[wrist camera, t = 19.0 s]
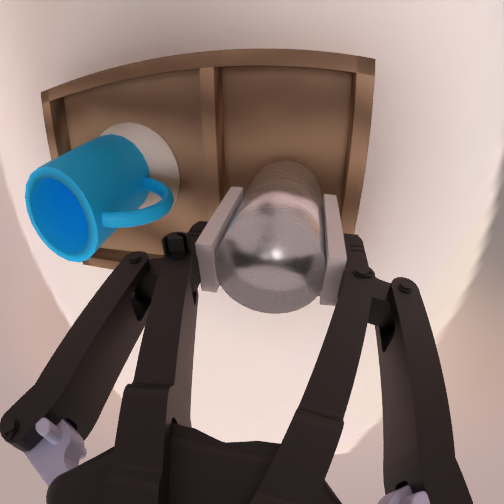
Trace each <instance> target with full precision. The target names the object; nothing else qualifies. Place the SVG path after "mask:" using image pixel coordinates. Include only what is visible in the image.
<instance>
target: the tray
mask: <svg viewBox="0 0 504 504" xmlns="http://www.w3.org/2000/svg"><path fill="white" fill-rule="evenodd" d="M374 77H375V59H372V58H367V57H361V56H354V55H348V54H340V53H332V52H322V51H311V50H295V49H234V50H218V51H207V52H197V53H189V54H181V55H174V56H168V57H162V58H156V59H151V60H146V61H141V62H136V63H132V64H128V65H123V66H119V67H115V68H112V69H108V70H104V71H101V72H97V73H94V74H91V75H88V76H84V77H81V78H78V79H75V80H72V81H70V82H67V83H64V84H61V85H59V86H56V87H53V88H51V89H48V90H46V91H43V92H41V98H42V107H43V114H44V121H45V127H46V133H47V139H48V144H49V149H50V154H51V159H52V160H53V159H55V158H57V157H59V156H61V155H63V154H65V153H67V152H68V151H70V150H72V149H74V148H76V147H78V146H80V145H82V144H85V143H87V142H89V141H91V140H93V139H95V138H97V137H100V136H102V135H108V134H114V135H119V136H123V137H125V138H126V139H128V140H129V141H131V142H132V143H134V144H135V146H136V147H137V148H138V149H139V150H140V152H141V153H142V154H143V156H144V158H145V160H146V163H147V165H148V167H149V173H150V178H152V179H155V180H158V181H160V182H162V183H164V184H165V185H166V186H168V187H169V188H170V189H171V191H172V194H173V197H174V204H173V206H172V208H171V210H170V212H169V213H168V214H166V215H165V216H164V217H162V218H161V219H159V220H156V221H154V222H151V223H148V224H146V225H140V226H135V227H127V228H118V229H117V230H116V231H115V232H114V233H113V234H112V235H111V236H110V237H109V238H108V239H107V240H106V241H105V242H104V243H103V244H102V245H101V246H100V247H99V248H98V250H97V251H96V252H95V253H94V254H93V255H92V256H91V257H90V258H89V259H88V260H85V261H82V262H83V264H85V265H90V266H96V267H102V268H108V269H115V268H116V267H117V265H118V264H119V263H120V262H121V261H122V259H123V258H124V257H125V256H126V255H127V254H129V253H131V252H135V251H143V252H146V253H147V254H148V257H149V259H155V258H163V257H164V251H163V247H162V242H161V239H162V238H163V237H164V236H165V235H167V234H169V233H172V232H185V233H188V231H189V230H190V228H191V227H192V225H194V224H195V223H197V222H198V221H207V222H209V220H210V219H211V217H212V215H213V214H214V212H215V211H216V209H217V208H218V206H219V205H220V203H221V201H222V200H223V198H224V197H225V195H226V194H227V192H228V191H229V189H230V188H231V187H243V198H244V196H245V194H246V192H247V190H248V189H249V187H250V185H251V183H252V181H253V179H254V177H255V175H256V174H257V173H258V172H259V171H260V170H261V169H262V168H263V167H264V166H266V165H268V164H270V163H273V162H276V161H293V162H296V163H299V164H301V165H303V166H305V167H306V168H308V169H309V170H310V171H311V172H312V173H313V174H314V175H315V177H316V178H317V180H318V182H319V185H320V189H321V199H322V206H323V197H324V194H330V195H336V197H337V202H338V208H339V213H340V219H341V224H342V230H343V233H346V234H354V230H355V225H356V220H357V215H358V210H359V204H360V198H361V192H362V186H363V180H364V174H365V167H366V160H367V152H368V144H369V136H370V127H371V117H372V106H373V93H374ZM160 200H162V198H161V197H160V196H159V195H157V194H155V193H153V192H150V191H149V194H148V196H147V198H146V200H145V202H144V203H143V204H142V205H141V206H140V207H139V208H138V209H143V208H145V207H148V206H151V205H154V204H156V203H157V202H159V201H160ZM318 296H320V293H319V295H318Z"/></svg>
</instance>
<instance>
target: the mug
mask: <svg viewBox="0 0 504 504" xmlns="http://www.w3.org/2000/svg"><path fill="white" fill-rule="evenodd" d="M149 191H150V192H153V193H155V194H157V195H159V196H160V197H161V198H162V200H160V201H159V202H157V203H156V204H154V205H151V206H148V207H145V208H143V209H138V208H139V207H140V206H141V205H142V204H143V203H144V202H145V200H146V198H147V196H148V194H149ZM25 199H26V206H27V211H28V214H29V217H30V220H31V223H32V225H33V227H34V228H35V230H36V232H37V234H38V235H39V237H40V238H41V239H42V240H43V242H44V243H45V244H46V245H47V246H48V247H49V248H50V249H51V250H52V251H53V252H55V253H56V254H57V255H59V256H61V257H63V258H65V259H67V260H69V261H74V262H82V261H85V260H88V259H89V258H90V257H91V256H92V255H93V254H94V253H95V252H96V251H97V250H98V248H99V247H100V246H101V245H102V244H103V243H104V242H105V241H106V240H107V239H108V238H109V237H110V236H111V235H112V234H113V233H114V232H115V231H116V230H117V229H118V228H127V227H135V226H140V225H146V224H148V223H151V222H154V221H156V220H159V219H161V218H162V217H164V216H165V215H166V214H168V213H169V212H170V210H171V208H172V206H173V204H174V197H173V194H172V191H171V189H170V188H169V187H168V186H166V185H165V184H164V183H162V182H160V181H158V180H155V179H152V178H150V173H149V167H148V165H147V163H146V160H145V158H144V156H143V154H142V153H141V152H140V150H139V149H138V148H137V147H136V146H135V144H134V143H132V142H131V141H129V140H128V139H126V138H125V137H123V136H119V135H114V134H108V135H102V136H100V137H97V138H95V139H93V140H91V141H89V142H87V143H85V144H82V145H80V146H78V147H76V148H74V149H72V150H70V151H68V152H67V153H65V154H63V155H61V156H59V157H57V158H55V159H53V160H52V161H50V162H48V163H46V164H44V165H43V166H41V167H39V168H38V169H37V170H35V171H34V172H33V173H32V174H31V175H30V177H29V180H28V182H27V184H26V193H25Z"/></svg>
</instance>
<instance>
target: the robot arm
mask: <svg viewBox="0 0 504 504" xmlns="http://www.w3.org/2000/svg"><path fill="white" fill-rule="evenodd" d="M242 200H243V187H231V188H230V189H229V191H228V192H227V194H226V195H225V197H224V198H223V200H222V201H221V203H220V205H219V206H218V208H217V209H216V211H215V212H214V214H213V215H212V217H211V219H210V220H209V222H207V221H198V222H197V223H195V224H194V225H192V227H191V228H190V230H189V231H188V233H185V232H172V233H169V234H167V235H165V236H164V237H163V238H162V239H161V242H162V247H163V251H164V257H163V258H155V259H149V257H148V254H147V253H146V252H143V251H135V252H131V253H129V254H127V255H126V256H125V257H124V258H123V259H122V261H121V262H120V263H119V264H118V265H117V267H116V268H115V269H114V270H113V272H112V273H111V274H110V276H109V277H108V278H107V279H106V281H105V282H104V283H103V285H102V286H101V287H100V289H99V290H98V291H97V292H96V294H95V295H94V297H93V298H92V299H91V301H90V302H89V303H88V305H87V306H86V307H85V309H84V310H83V312H82V313H81V314H80V316H79V317H78V319H77V320H76V321H75V323H74V324H73V326H72V327H71V329H70V330H69V331H68V333H67V335H66V336H65V338H64V339H63V341H62V342H61V344H60V345H59V346H58V348H57V349H56V351H55V353H54V354H53V356H52V357H51V359H50V360H49V362H48V364H47V365H46V367H45V368H44V370H43V372H42V373H41V375H40V377H39V378H38V380H37V382H36V383H35V385H34V386H33V387H32V388H31V389H29V390H28V391H27V392H26V394H25V395H23V396H22V397H21V398H20V399H19V400H18V401H17V402H16V403H15V404H14V405H13V406H12V407H11V408H10V409H9V410H8V411H7V412H6V413H5V414H4V415H3V417H2V418H1V422H0V432H1V435H2V437H3V438H4V439H5V441H7V442H8V443H10V444H11V445H13V446H14V447H16V448H17V449H19V450H21V451H22V452H24V453H25V455H26V456H27V458H28V459H29V460H30V462H31V463H32V465H33V466H34V467H35V469H36V470H37V472H38V473H39V474H40V476H41V477H42V478H43V480H44V481H45V482H46V483H47V485H48V486H49V488H48V491H47V496H46V502H47V504H342V503H341V502H340V500H339V499H338V498H337V496H336V495H335V493H334V492H333V491H332V490H331V488H330V486H329V485H328V484H327V482H326V481H325V477H326V474H327V472H328V469H329V467H330V464H331V461H332V458H333V456H334V453H335V450H336V448H337V445H338V442H339V439H340V436H341V433H342V430H343V425H344V421H343V418H344V414H345V411H346V408H347V404H348V401H349V398H350V394H351V390H352V387H353V383H354V379H355V376H356V372H357V368H358V364H359V359H360V355H361V351H362V346H363V342H364V337H365V332H366V327H367V323H370V324H373V325H375V330H376V338H377V346H378V355H379V365H380V376H381V389H382V406H383V436H384V459H383V461H384V462H383V476H384V487H385V494H386V495H385V496H384V497H383V498H382V499H381V500H380V501H379V502H378V504H473V502H472V499H471V496H470V494H469V491H468V488H467V485H466V483H465V480H464V478H463V475H462V473H461V470H460V468H459V465H458V463H457V461H456V458H455V450H454V440H453V432H452V424H451V417H450V410H449V404H448V399H447V393H446V388H445V383H444V378H443V373H442V369H441V364H440V360H439V356H438V352H437V348H436V344H435V341H434V337H433V333H432V330H431V326H430V323H429V320H428V316H427V313H426V310H425V307H424V304H423V301H422V298H421V295H420V292H419V289H418V287H417V285H416V284H415V283H414V282H413V281H411V280H409V279H407V278H403V277H397V278H395V279H393V281H392V283H388V282H385V281H382V280H379V279H378V278H376V277H375V273H374V271H373V270H372V269H371V268H369V266H368V262H367V258H366V253H365V249H364V245H363V241H362V240H361V238H360V237H359V236H358V235H355V234H346V233H343V230H342V224H341V219H340V213H339V208H338V202H337V197H336V195H330V194H324V197H323V206H322V212H323V226H324V243H325V264H326V273H325V278H324V283H323V288H322V290H321V292H320V304H322V305H333V306H336V307H335V310H334V313H333V316H332V319H331V322H330V325H329V328H328V331H327V334H326V337H325V339H324V342H323V345H322V348H321V351H320V353H319V356H318V359H317V362H316V364H315V367H314V370H313V372H312V375H311V377H310V380H309V382H308V385H307V387H306V390H305V392H304V395H303V397H302V400H301V402H300V404H299V407H298V408H297V410H296V412H295V414H294V416H293V419H292V421H291V423H290V425H289V428H288V430H287V432H286V434H285V436H284V439H283V441H282V443H281V444H278V443H270V442H262V441H249V442H230V443H225V442H221V441H219V440H217V439H215V438H213V437H211V436H209V435H207V434H205V433H203V432H201V431H199V430H197V429H194V428H192V427H191V421H190V407H191V387H192V370H193V355H194V341H195V329H196V317H197V306H198V290H197V288H198V286H199V284H200V283H201V289H202V290H203V291H210V292H217V290H218V287H219V285H220V283H219V281H218V279H217V277H216V268H215V255H216V252H217V249H218V247H219V245H220V243H221V241H222V239H223V237H224V235H225V233H226V231H227V229H228V228H229V226H230V224H231V222H232V220H233V218H234V216H235V214H236V212H237V210H238V208H239V206H240V204H241V202H242ZM337 298H338V300H337ZM336 302H337V303H336ZM144 327H145V329H144V334H143V338H142V342H141V347H140V352H139V356H138V361H137V366H136V371H135V376H134V380H133V383H132V384H127V386H126V387H125V390H124V393H123V398H122V403H121V409H120V415H119V421H118V428H117V433H116V440H115V446H114V447H112V448H110V449H109V450H107V451H105V452H103V453H101V454H100V455H98V456H96V457H94V458H92V459H90V460H88V461H86V462H85V463H83V464H81V465H78V464H79V459H83V458H84V457H85V456H86V449H85V447H84V440H85V439H86V438H87V436H88V435H89V433H90V432H91V430H92V429H93V427H94V425H95V423H96V422H97V420H98V418H99V415H100V414H101V411H102V409H103V407H104V405H105V403H106V401H107V399H108V397H109V395H110V393H111V391H112V389H113V387H114V384H115V382H116V380H117V378H118V376H119V374H120V372H121V370H122V369H123V367H124V365H125V363H126V361H127V359H128V357H129V355H130V353H131V351H132V349H133V347H134V345H135V343H136V342H137V340H138V338H139V336H140V334H141V332H142V330H143V328H144Z"/></svg>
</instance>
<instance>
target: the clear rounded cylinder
mask: <svg viewBox="0 0 504 504" xmlns="http://www.w3.org/2000/svg"><path fill="white" fill-rule="evenodd" d="M215 268H216V277H217V279H218V281H219V283H220V285H221V287H222V288H223V289H224V291H225V292H226V293H227V294H228V295H229V296H230V297H231V298H232V299H234V300H235V301H236V302H238V303H240V304H241V305H243V306H245V307H247V308H250V309H252V310H256V311H259V312H264V313H287V312H291V311H295V310H298V309H300V308H302V307H304V306H306V305H308V304H309V303H310V302H312V301H313V300H314V299H315V298H316V297H317V296H318V295H319V293H320V292H321V290H322V288H323V283H324V278H325V273H326V264H325V243H324V226H323V212H322V199H321V189H320V185H319V182H318V180H317V178H316V177H315V175H314V174H313V173H312V172H311V171H310V170H309V169H308V168H306V167H305V166H303V165H301V164H299V163H296V162H293V161H276V162H273V163H270V164H268V165H266V166H264V167H263V168H262V169H261V170H260V171H259V172H258V173H257V174H256V175H255V177H254V179H253V181H252V183H251V185H250V187H249V189H248V190H247V192H246V194H245V196H244V198H243V200H242V202H241V204H240V206H239V208H238V210H237V212H236V214H235V216H234V218H233V220H232V222H231V224H230V226H229V228H228V229H227V231H226V233H225V235H224V237H223V239H222V241H221V243H220V245H219V247H218V249H217V252H216V255H215Z"/></svg>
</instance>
